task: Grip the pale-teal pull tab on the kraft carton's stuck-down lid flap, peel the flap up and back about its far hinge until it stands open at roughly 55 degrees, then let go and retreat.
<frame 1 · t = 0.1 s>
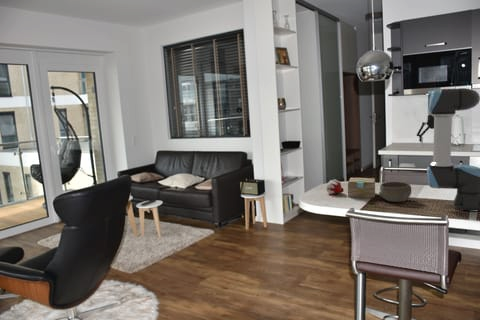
hand: (433, 146, 261), 28 cm above the counter, fingers open, 13 cm apart
red and white lump: (334, 194, 260), on the counter
flap: (361, 182, 249), point 9 cm above the counter, hinge at 0.0°
carton: (361, 194, 254), on the counter
bowl: (395, 200, 237), on the counter
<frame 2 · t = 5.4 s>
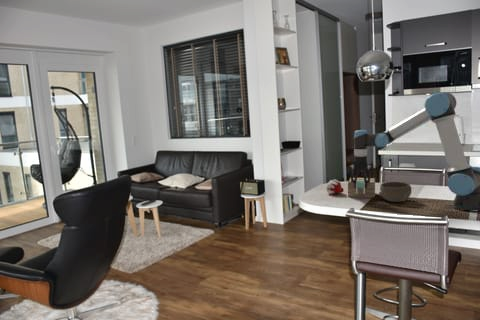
hand: (360, 193, 242), 4 cm above the counter, fingers closed on flap, 4 cm apart
flap: (361, 182, 249), point 9 cm above the counter, hinge at 0.0°, touching gripper
everything else where it was.
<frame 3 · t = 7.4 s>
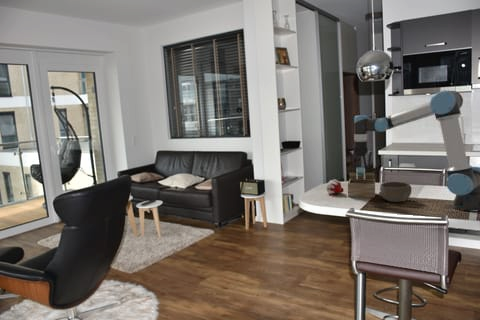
hand: (360, 178, 243), 13 cm above the counter, fingers closed on flap, 4 cm apart
flap: (361, 174, 249), point 14 cm above the counter, hinge at 24.8°, touching gripper
everything else where it was.
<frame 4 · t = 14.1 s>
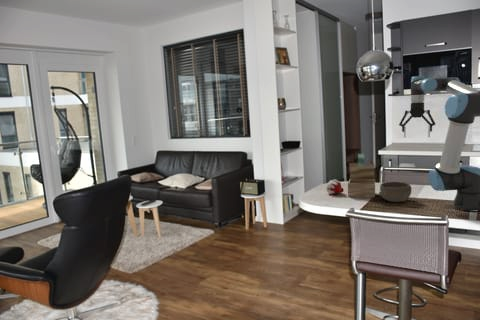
hand: (416, 137, 241), 37 cm above the counter, fingers open, 13 cm apart
flap: (361, 167, 252), point 18 cm above the counter, hinge at 50.9°
everything else where it was.
at the end: flap at +51° (first picture: +0°); the gripper is holding nothing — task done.
